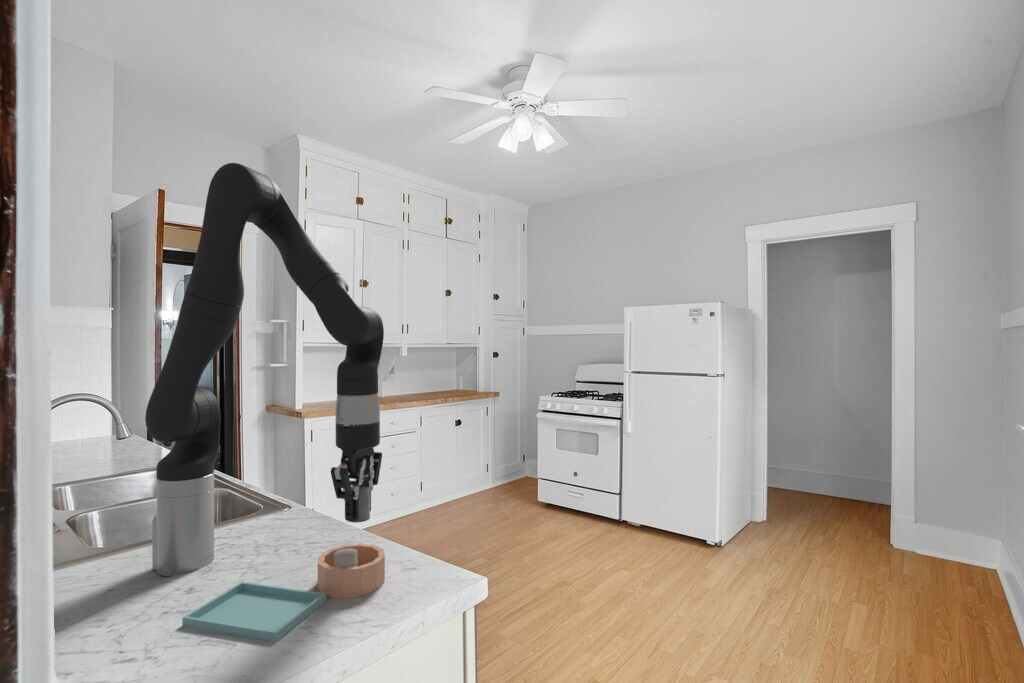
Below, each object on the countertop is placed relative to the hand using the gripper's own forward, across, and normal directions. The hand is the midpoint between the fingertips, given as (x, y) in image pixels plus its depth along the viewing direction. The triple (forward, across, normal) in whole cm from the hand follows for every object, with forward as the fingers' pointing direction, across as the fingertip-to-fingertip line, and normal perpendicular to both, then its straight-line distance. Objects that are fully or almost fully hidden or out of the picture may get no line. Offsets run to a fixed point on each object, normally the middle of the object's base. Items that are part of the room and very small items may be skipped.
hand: (358, 515), depth 96 cm
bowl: (+11, +2, 0) cm, 12 cm away
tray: (+11, +15, -9) cm, 21 cm away
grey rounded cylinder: (+1, 0, 0) cm, 1 cm away
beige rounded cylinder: (+11, +4, 0) cm, 11 cm away
